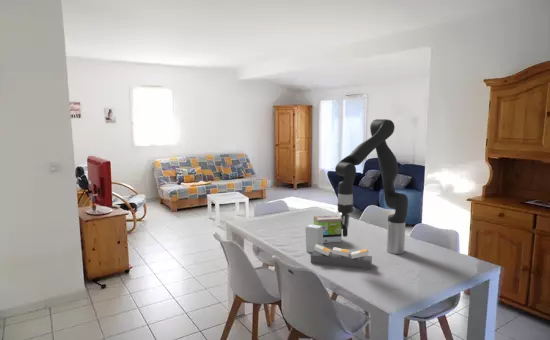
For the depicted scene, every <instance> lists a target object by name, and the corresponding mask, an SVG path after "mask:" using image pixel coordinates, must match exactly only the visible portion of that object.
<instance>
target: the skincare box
mask: <svg viewBox="0 0 550 340" xmlns="http://www.w3.org/2000/svg"><path fill="white" fill-rule="evenodd" d="M304 228H305V244H306V245H305V247H306V248H305V249H306V250H305V252H307V253H311V254H312V253H313V251H314V247H315V245H316V244H318V245H320V246H323V247H324V243H323V226H320V225H314V224H308V225H306V226H305V227H304Z"/></svg>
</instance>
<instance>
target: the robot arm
mask: <svg viewBox="0 0 550 340" xmlns="http://www.w3.org/2000/svg"><path fill="white" fill-rule="evenodd" d="M395 126H396V125H395V124H394V122H393V121H392V120H391V119H388V118H387V119H384V118H383V119H381V118H380V119H373V120H372V121H371V123H370V126H369V127H370V135H371V137H369V138H367V139H366V140H364V141H363V142H361V143H360V144H358V145H357V146H356V147H355V148H354V149H353V150H352V151H351V153H350V154H348V155H347V156H345V157H344V158H343V159H341V160H340V161H338V163H337V164H336V166H335V173H336V175H337V176H340V177H343V180H342V181H339V182H338V185H337V186H338V187H337V188H338V190H337V192H338V193H337V212H338V213H341V215H340V218H341V227H342V237H344V238H345V237H346V238H347V237H348V236H349V235H348V230H349V226H350V225H349V224H350V218H351V217H350V214H351V213H353V212H354V196H353V195H354V194H353V193H354V192H353V191H354V190H353V189H354V188H353V187H354V183H355V178H356V174H357V168H356V166H359V165H361V164H362V162H364V161H365V160H366V158H367V157H368V156H369V155H370V154H371V153H372V152H373V151H374V150H375V151H376V155H377V161H378V165H379V171H380V174H381V179H382V186H383V195H384V202H385V205H386V206H387V208H389V209H393V210H395V211H394V213H393V214H389V215H388V216H387V232H386V233H387V238H386V239H387V240H386V251H387V253H390V254H395V255H401V254H404V253H405V242H406V241H405V240H406V238H405V237H406V219H407V218H408V217H407V216H408V207H409V198H408V196H407V194H405V193H402V192H397V191H396V189H395V181H396V178H397V175H398V173H399V167H398V161H397V157H396V155H395V154H394V153H393V150H392V149H390V146H389V145H388V143H387V141H386V140H388V139H389V138H390V137H391V136H392V135H393V134H394V132H395Z"/></svg>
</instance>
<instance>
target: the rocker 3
mask: <svg viewBox="0 0 550 340" xmlns="http://www.w3.org/2000/svg"><path fill="white" fill-rule="evenodd" d="M350 254H351V257H352V259H353V258H358V257H363V256H369V249H368V248H364V249H360V250H356V251H352V252H351V253H350Z"/></svg>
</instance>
